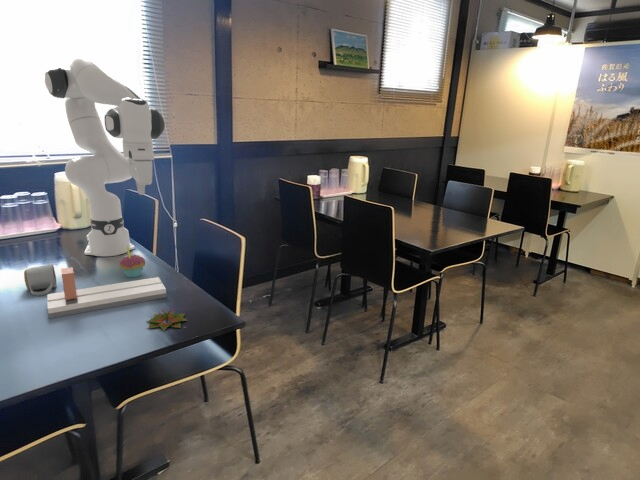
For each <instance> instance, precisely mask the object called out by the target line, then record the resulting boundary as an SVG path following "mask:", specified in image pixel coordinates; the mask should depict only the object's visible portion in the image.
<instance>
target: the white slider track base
mask: <svg viewBox="0 0 640 480" xmlns="http://www.w3.org/2000/svg"><path fill="white" fill-rule="evenodd" d="M76 294H77V298H75V299H69V300H65V294H64V291H60V292H54V293H53V292H52V293H47V294H46V296H47V298H46V299H47V314H48V318H49V319H55V318H60V317H64V316H65V317H66V316H70V315H75V314H81V313H88V312H94V311H99V310H104V309H109V308H114V307H120V306H125V305H130V304H137V303H142V302H148V301H153V300H158V299H164V298H167V288H166V287H165V285H164V284H163V282H162V280H161V278H160V277H159V276H156V277H149V278H144V279H137V280H136V279H135V280H129V281H123V282H119V283H118V282H117V283H111V284H106V285H97V286H91V287H86V288H84V287H83V288H80V289H79V288H78V289H76Z"/></svg>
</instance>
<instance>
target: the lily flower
mask: <svg viewBox="0 0 640 480" xmlns="http://www.w3.org/2000/svg"><path fill="white" fill-rule="evenodd" d="M162 307H163V309H162V308H160V311H161V312H162V313H161V312H158V313H154V317H152V318H150V319H148V320H147V321H146V323H148V322H149V323H150V324H149V325H148V327H146V328H147V329H153V328H161V330H162V331H163V332H164V331H165V330H166V329H167V328H168V327H169V328H179V329H181V328H182V327H181V325H182V324H181V322H185V321H187V322H188V321H189V320H188V319H186V318H185V317H184V316H185V315H186V313H175V312H174V311H173V310H174V308H170V309H168V311H166V309H165V308H164V306H162ZM166 308H168V305H167V307H166ZM169 321H170V322H169Z"/></svg>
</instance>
